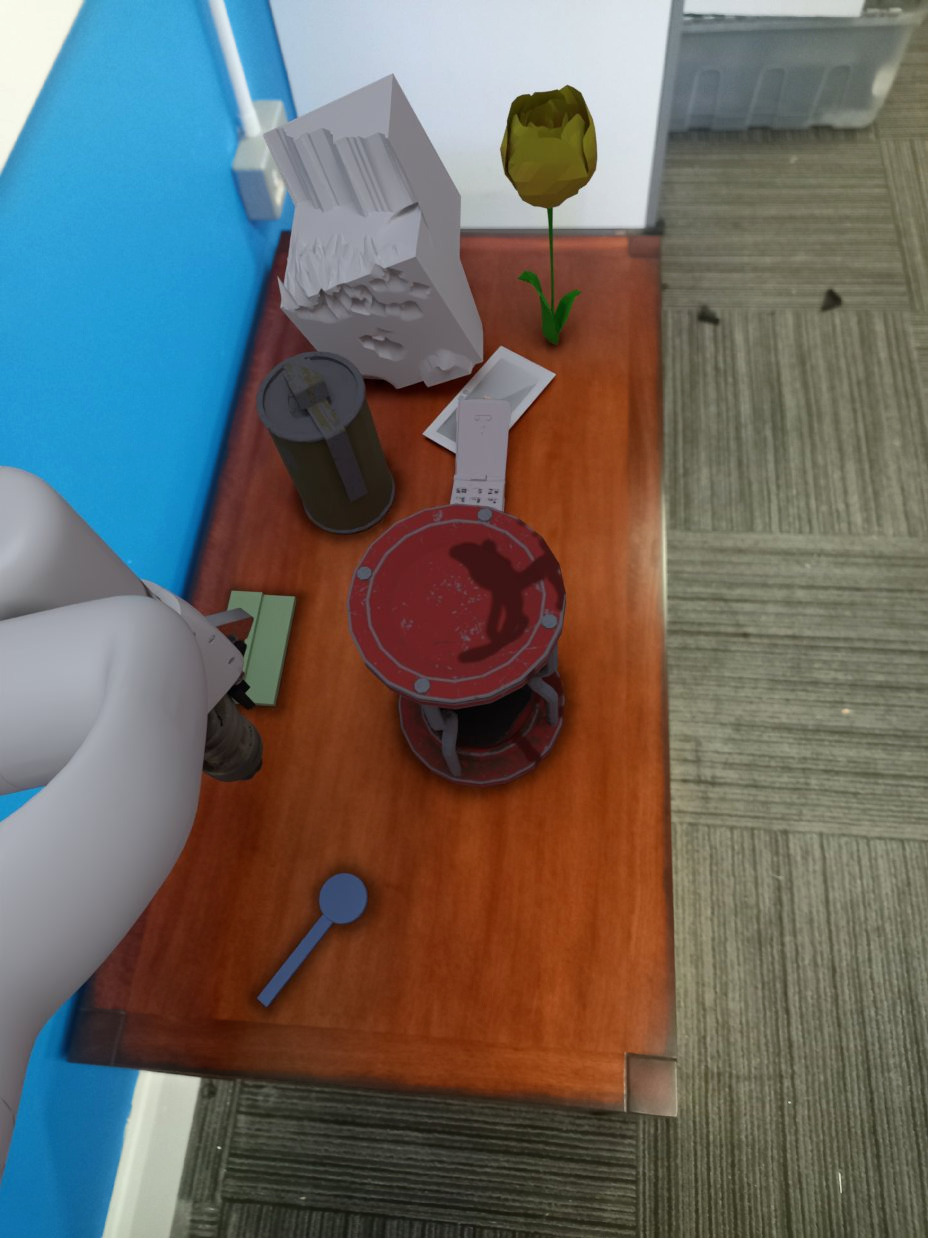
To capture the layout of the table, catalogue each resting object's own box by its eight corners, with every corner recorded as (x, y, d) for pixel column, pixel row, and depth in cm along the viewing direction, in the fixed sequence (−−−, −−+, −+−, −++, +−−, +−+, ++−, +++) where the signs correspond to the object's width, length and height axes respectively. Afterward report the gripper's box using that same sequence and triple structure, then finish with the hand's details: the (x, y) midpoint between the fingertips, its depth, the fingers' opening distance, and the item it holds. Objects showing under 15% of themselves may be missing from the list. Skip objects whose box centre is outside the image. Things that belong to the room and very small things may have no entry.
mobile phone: (512, 397, 95) (487, 607, 85) (515, 431, 101) (492, 632, 90) (456, 396, 96) (425, 604, 86) (462, 429, 101) (434, 629, 91)
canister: (288, 482, 101) (229, 363, 83) (369, 440, 102) (328, 314, 84) (329, 553, 96) (276, 444, 78) (413, 508, 98) (380, 391, 80)
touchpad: (556, 380, 103) (556, 368, 101) (478, 471, 99) (476, 460, 97) (501, 351, 105) (500, 339, 103) (423, 439, 101) (420, 428, 99)
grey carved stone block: (494, 387, 100) (383, 219, 80) (372, 423, 106) (239, 276, 86) (494, 254, 109) (394, 72, 88) (381, 295, 115) (262, 133, 94)
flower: (575, 306, 107) (580, 62, 80) (597, 356, 104) (610, 119, 77) (506, 326, 107) (488, 88, 80) (526, 376, 104) (514, 146, 76)
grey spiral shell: (220, 736, 77) (147, 674, 63) (282, 728, 77) (222, 663, 63) (219, 801, 74) (143, 750, 61) (283, 792, 74) (221, 740, 61)
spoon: (281, 1019, 77) (278, 1019, 77) (245, 986, 79) (242, 986, 78) (378, 894, 81) (376, 893, 80) (342, 864, 82) (340, 863, 82)
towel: (275, 706, 90) (271, 702, 88) (209, 702, 90) (204, 697, 89) (297, 599, 94) (293, 593, 93) (233, 596, 95) (229, 590, 94)
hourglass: (537, 809, 83) (529, 729, 60) (377, 760, 86) (312, 666, 64) (583, 655, 89) (591, 528, 66) (432, 614, 92) (390, 481, 69)
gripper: (25, 793, 47) (164, 853, 63) (247, 556, 52) (322, 670, 68) (-59, 712, 49) (95, 790, 66) (159, 494, 54) (253, 618, 70)
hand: (210, 728), depth 67 cm, fingers closed on grey spiral shell, 5 cm apart
